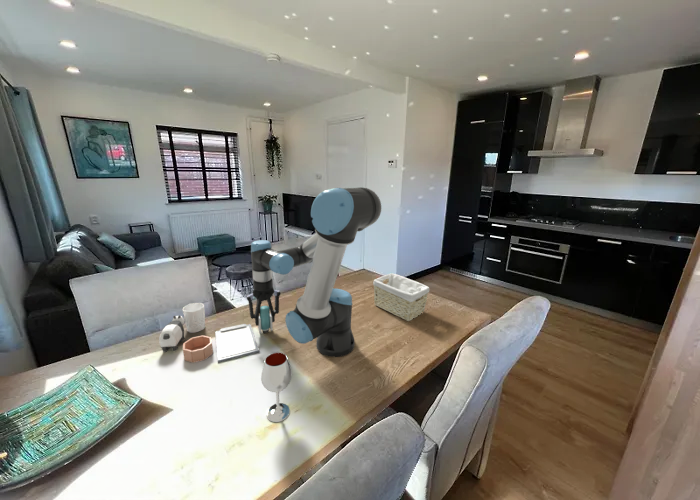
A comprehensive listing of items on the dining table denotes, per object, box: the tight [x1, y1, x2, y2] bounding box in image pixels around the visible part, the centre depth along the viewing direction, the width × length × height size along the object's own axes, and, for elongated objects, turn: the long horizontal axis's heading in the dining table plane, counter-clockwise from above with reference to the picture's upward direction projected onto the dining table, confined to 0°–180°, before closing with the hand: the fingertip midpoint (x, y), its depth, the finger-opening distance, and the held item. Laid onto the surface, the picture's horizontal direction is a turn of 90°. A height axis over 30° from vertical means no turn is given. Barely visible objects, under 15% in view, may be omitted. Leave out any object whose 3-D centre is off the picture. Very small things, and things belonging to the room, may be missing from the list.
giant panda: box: [158, 315, 186, 353], centre depth 108 cm, size 15×6×10 cm, turn 10°
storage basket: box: [372, 272, 430, 322], centre depth 140 cm, size 24×16×15 cm
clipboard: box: [214, 323, 260, 363], centre depth 110 cm, size 20×14×2 cm
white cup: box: [182, 302, 206, 334], centre depth 117 cm, size 8×8×10 cm
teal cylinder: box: [259, 305, 271, 334], centre depth 117 cm, size 4×4×11 cm
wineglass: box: [260, 351, 293, 423], centre depth 77 cm, size 8×8×18 cm
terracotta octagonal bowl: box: [182, 334, 214, 363], centre depth 102 cm, size 9×9×4 cm
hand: (265, 329), depth 118 cm, fingers closed on teal cylinder, 4 cm apart
